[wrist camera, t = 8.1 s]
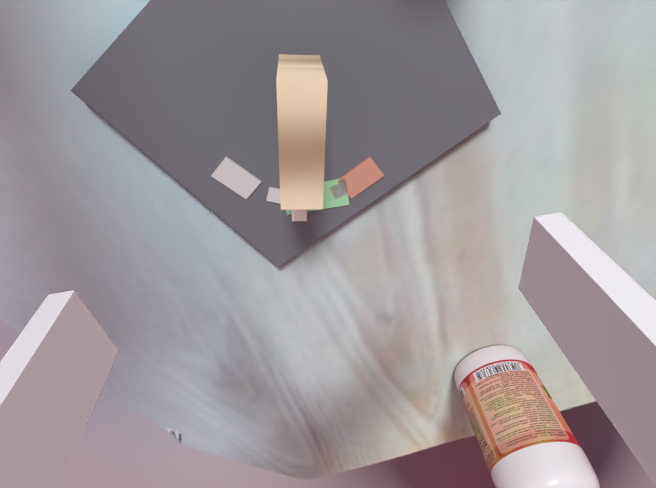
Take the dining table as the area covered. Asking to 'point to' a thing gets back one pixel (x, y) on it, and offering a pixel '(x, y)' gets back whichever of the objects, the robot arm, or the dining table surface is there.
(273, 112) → the dial board
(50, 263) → the dining table surface
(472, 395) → the fruit juice
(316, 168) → the beige boxy piece
